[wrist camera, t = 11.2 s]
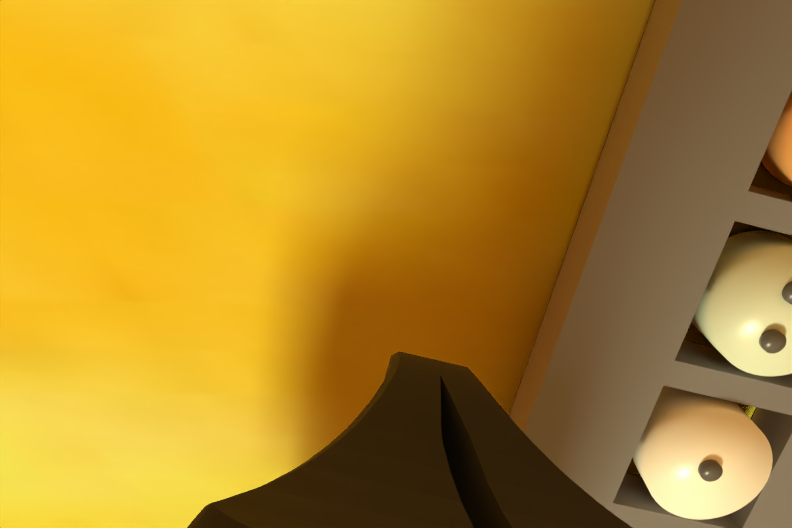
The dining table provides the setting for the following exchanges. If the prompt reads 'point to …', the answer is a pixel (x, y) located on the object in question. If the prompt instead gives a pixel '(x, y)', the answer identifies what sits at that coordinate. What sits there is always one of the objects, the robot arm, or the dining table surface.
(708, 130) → the button panel
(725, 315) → the button two
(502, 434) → the robot arm
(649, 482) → the button one
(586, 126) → the dining table surface
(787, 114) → the button three
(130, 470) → the dining table surface
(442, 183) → the dining table surface
